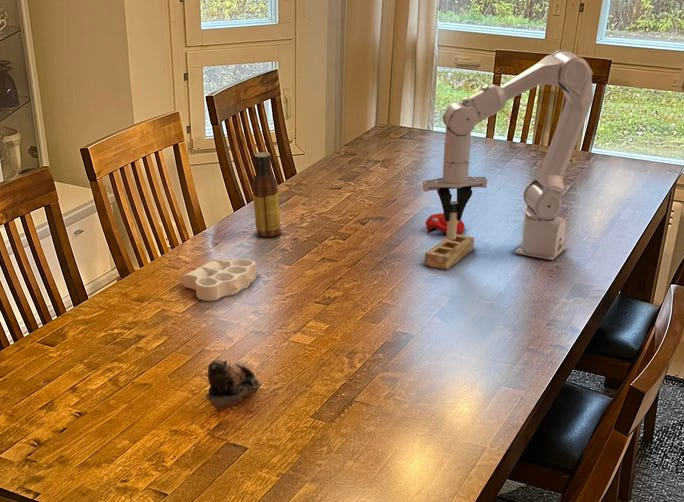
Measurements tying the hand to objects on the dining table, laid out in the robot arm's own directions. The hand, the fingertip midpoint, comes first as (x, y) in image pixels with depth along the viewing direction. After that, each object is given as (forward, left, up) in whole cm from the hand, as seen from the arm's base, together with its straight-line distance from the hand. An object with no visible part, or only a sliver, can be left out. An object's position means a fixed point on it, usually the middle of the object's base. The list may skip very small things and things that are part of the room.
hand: (452, 219), depth 232 cm
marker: (0, 0, -4) cm, 4 cm away
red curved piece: (+9, -18, -9) cm, 22 cm away
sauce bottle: (+47, +8, -9) cm, 48 cm away
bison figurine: (+4, +82, -9) cm, 83 cm away
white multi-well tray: (+38, +40, -9) cm, 56 cm away
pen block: (0, 0, -9) cm, 9 cm away
